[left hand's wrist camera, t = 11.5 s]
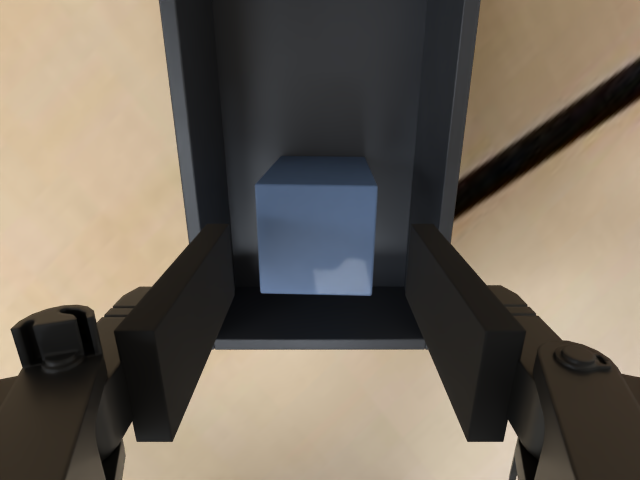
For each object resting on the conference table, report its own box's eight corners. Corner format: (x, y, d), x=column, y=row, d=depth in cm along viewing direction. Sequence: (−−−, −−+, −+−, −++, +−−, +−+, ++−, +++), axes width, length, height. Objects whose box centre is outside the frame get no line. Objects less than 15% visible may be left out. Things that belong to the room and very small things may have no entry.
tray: (410, 290, 24) (437, 349, 19) (228, 290, 24) (201, 350, 19) (468, -355, 15) (558, -624, 9) (170, -356, 15) (80, -626, 9)
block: (361, 237, 22) (372, 296, 16) (282, 235, 23) (259, 294, 16) (365, 156, 21) (378, 185, 14) (280, 155, 21) (254, 183, 14)
